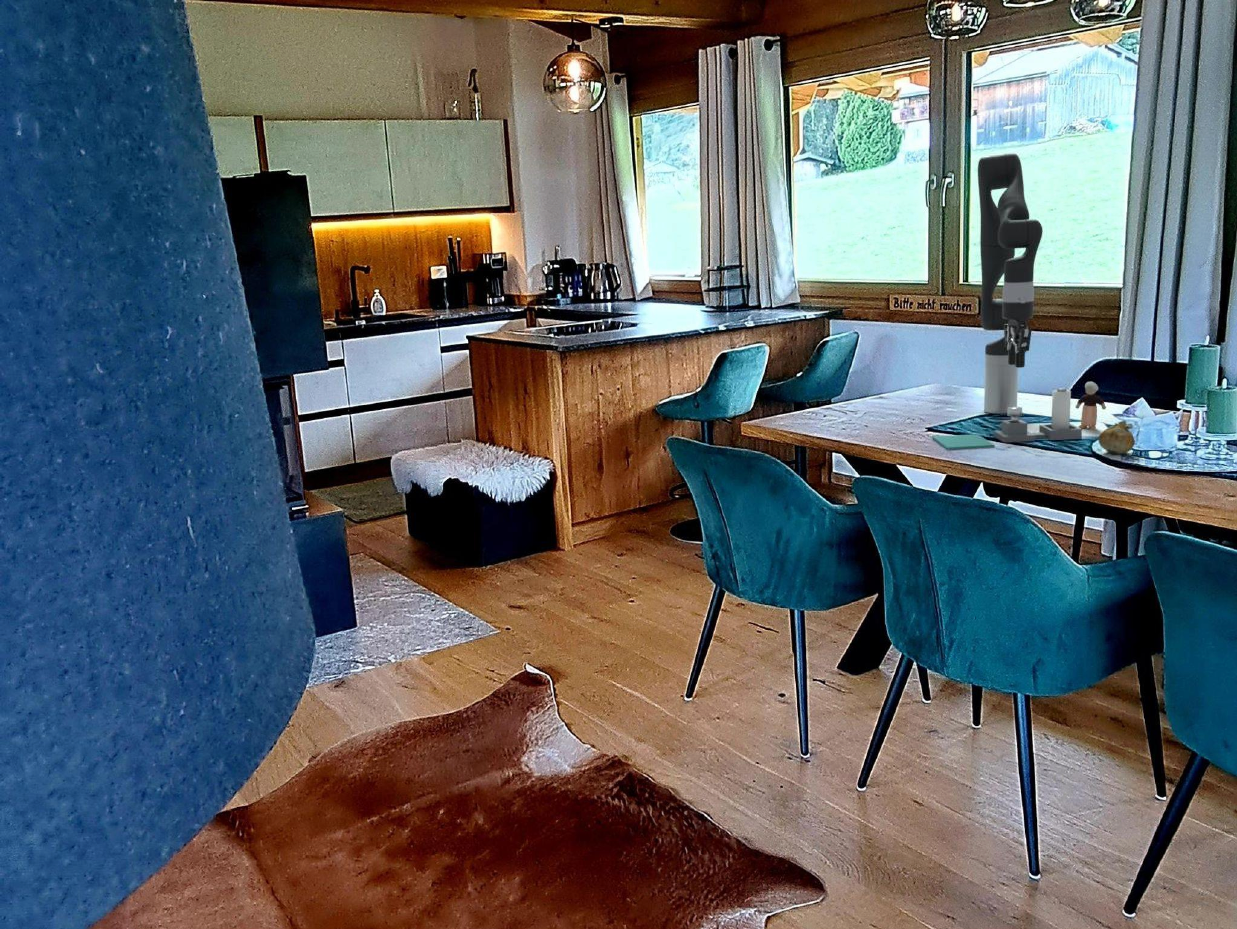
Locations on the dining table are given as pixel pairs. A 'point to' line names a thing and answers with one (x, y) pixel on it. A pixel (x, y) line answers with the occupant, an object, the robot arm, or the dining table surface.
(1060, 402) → the cylinder
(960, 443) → the mat
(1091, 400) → the grandmother figurine
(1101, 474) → the dining table surface
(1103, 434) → the onion
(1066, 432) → the dock
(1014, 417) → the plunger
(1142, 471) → the dining table surface
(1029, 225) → the robot arm
